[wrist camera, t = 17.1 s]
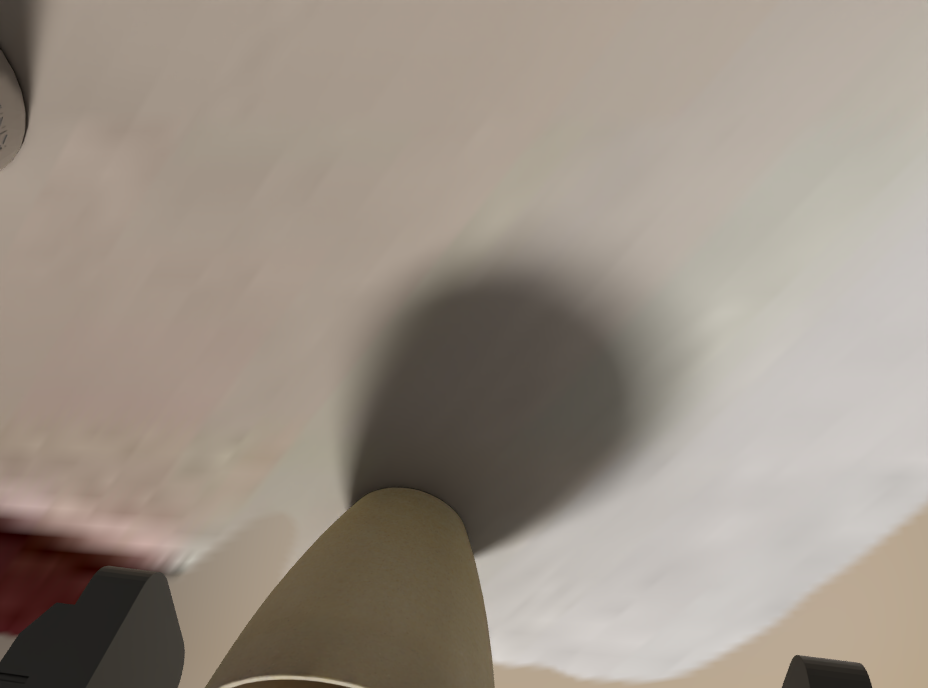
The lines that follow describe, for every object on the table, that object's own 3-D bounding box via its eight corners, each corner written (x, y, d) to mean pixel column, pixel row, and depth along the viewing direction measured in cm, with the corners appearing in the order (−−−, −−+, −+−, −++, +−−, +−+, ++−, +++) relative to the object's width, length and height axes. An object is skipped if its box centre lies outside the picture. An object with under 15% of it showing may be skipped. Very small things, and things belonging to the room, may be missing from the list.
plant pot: (577, 568, 53) (559, 836, 40) (388, 633, 60) (320, 882, 46) (432, 395, 47) (357, 642, 34) (241, 488, 54) (116, 725, 41)
